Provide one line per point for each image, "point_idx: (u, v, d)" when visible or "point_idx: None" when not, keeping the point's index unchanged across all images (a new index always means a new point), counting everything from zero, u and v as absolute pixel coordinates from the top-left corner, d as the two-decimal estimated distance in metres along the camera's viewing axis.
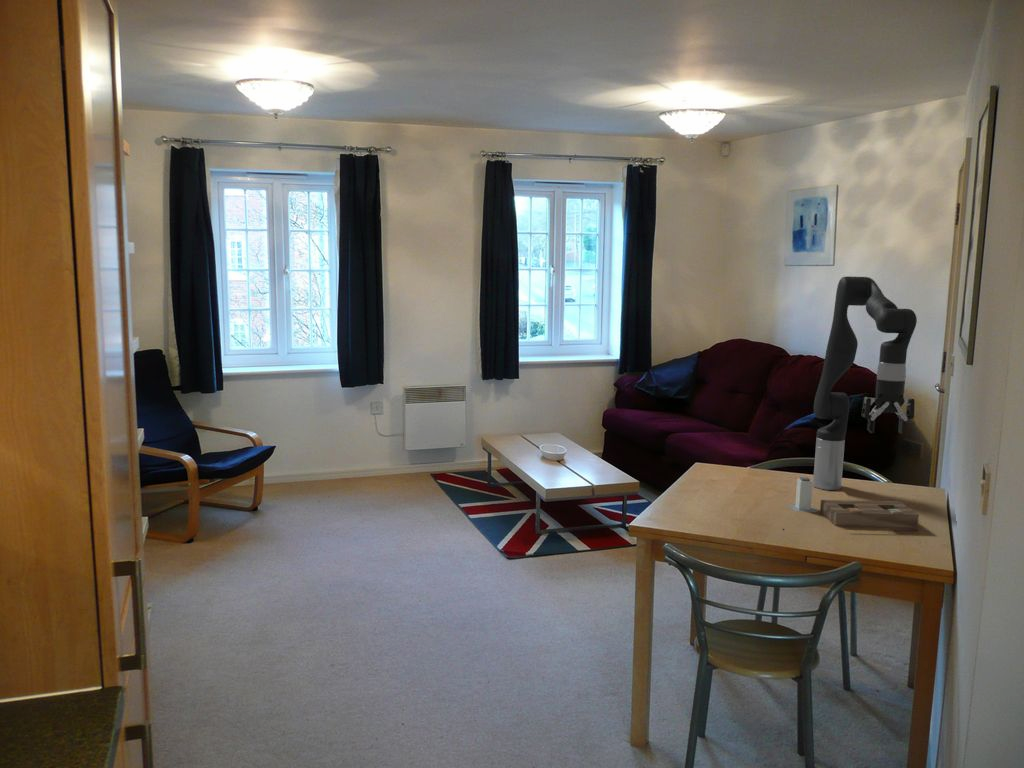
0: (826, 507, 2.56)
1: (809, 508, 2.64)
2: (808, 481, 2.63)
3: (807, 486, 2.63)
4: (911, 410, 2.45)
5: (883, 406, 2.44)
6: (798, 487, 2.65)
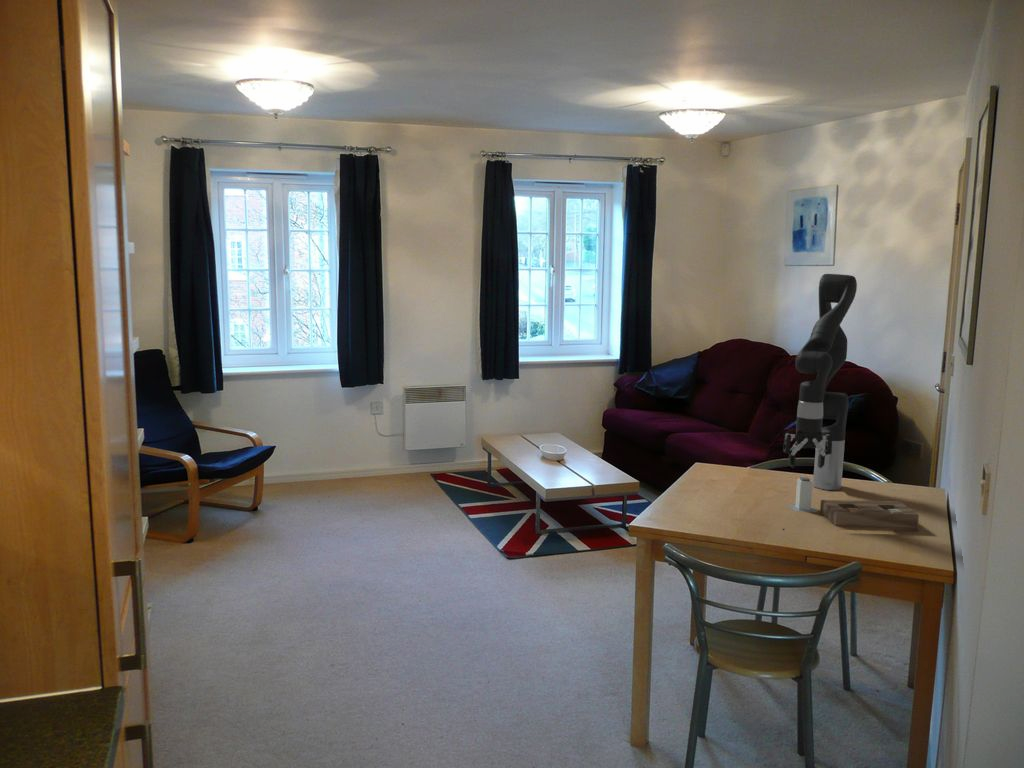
0: (826, 507, 2.56)
1: (809, 508, 2.64)
2: (808, 481, 2.63)
3: (807, 486, 2.63)
4: (829, 446, 2.62)
5: (802, 442, 2.61)
6: (798, 487, 2.65)
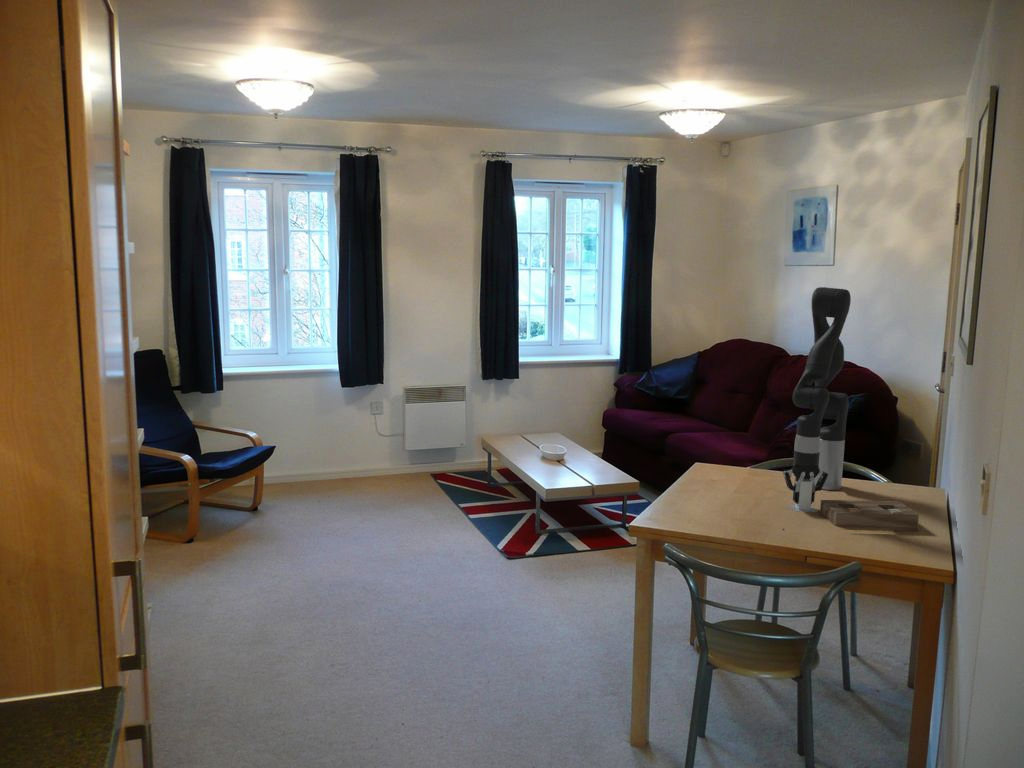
0: (826, 507, 2.56)
1: (809, 508, 2.64)
2: (808, 481, 2.63)
3: (807, 486, 2.63)
4: (821, 482, 2.63)
5: (799, 476, 2.63)
6: None
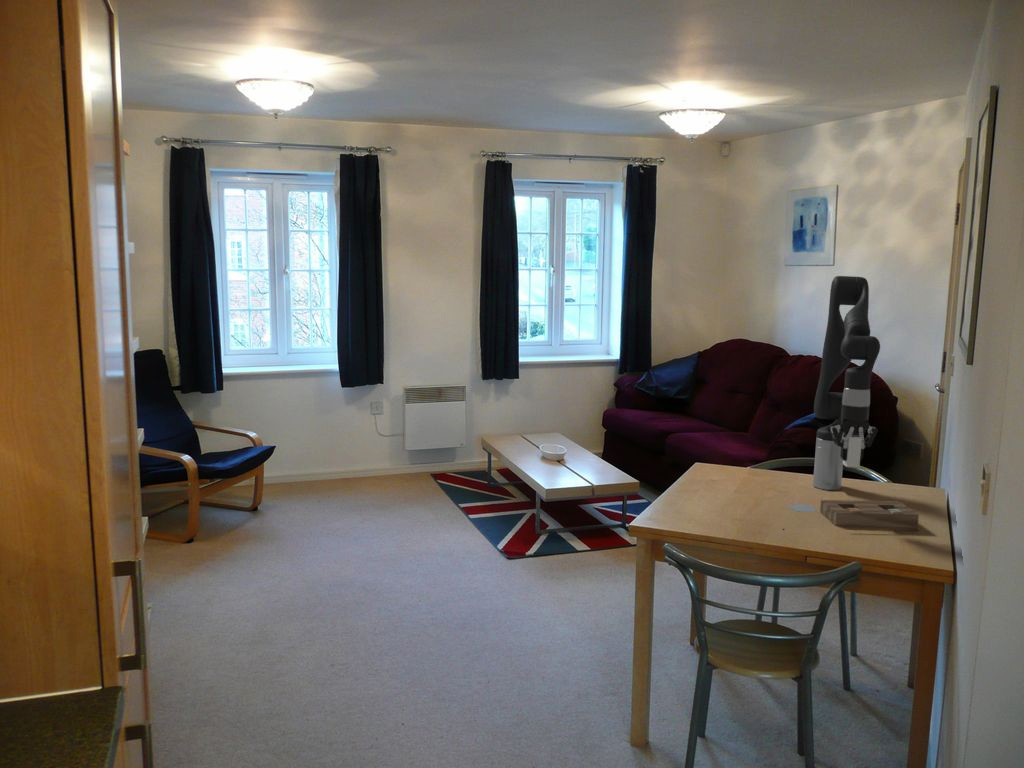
0: (826, 507, 2.56)
1: (858, 465, 2.51)
2: (857, 437, 2.50)
3: (856, 442, 2.50)
4: (871, 438, 2.50)
5: (848, 431, 2.50)
6: None
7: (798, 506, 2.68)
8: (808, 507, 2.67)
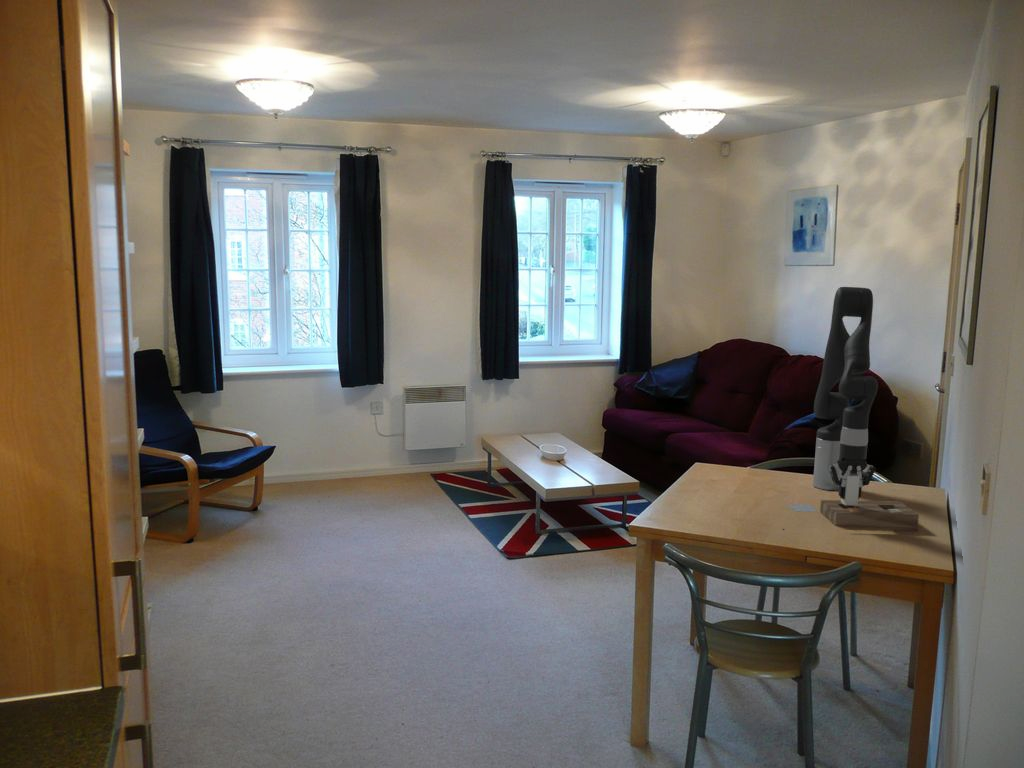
0: (826, 507, 2.56)
1: (856, 504, 2.53)
2: (855, 475, 2.52)
3: (854, 480, 2.52)
4: (868, 477, 2.52)
5: (846, 470, 2.51)
6: None
7: (798, 506, 2.68)
8: (808, 507, 2.67)
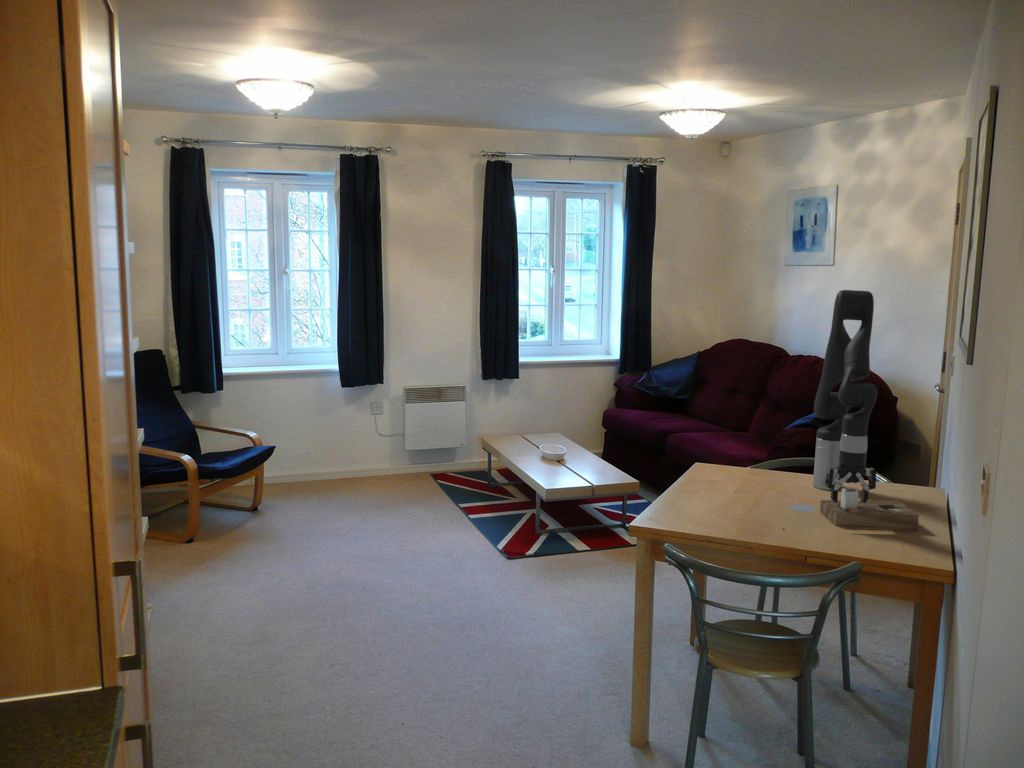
0: (826, 507, 2.56)
1: None
2: (854, 491, 2.53)
3: (853, 496, 2.52)
4: (873, 480, 2.52)
5: (845, 476, 2.52)
6: (843, 497, 2.54)
7: (798, 506, 2.68)
8: (808, 507, 2.67)
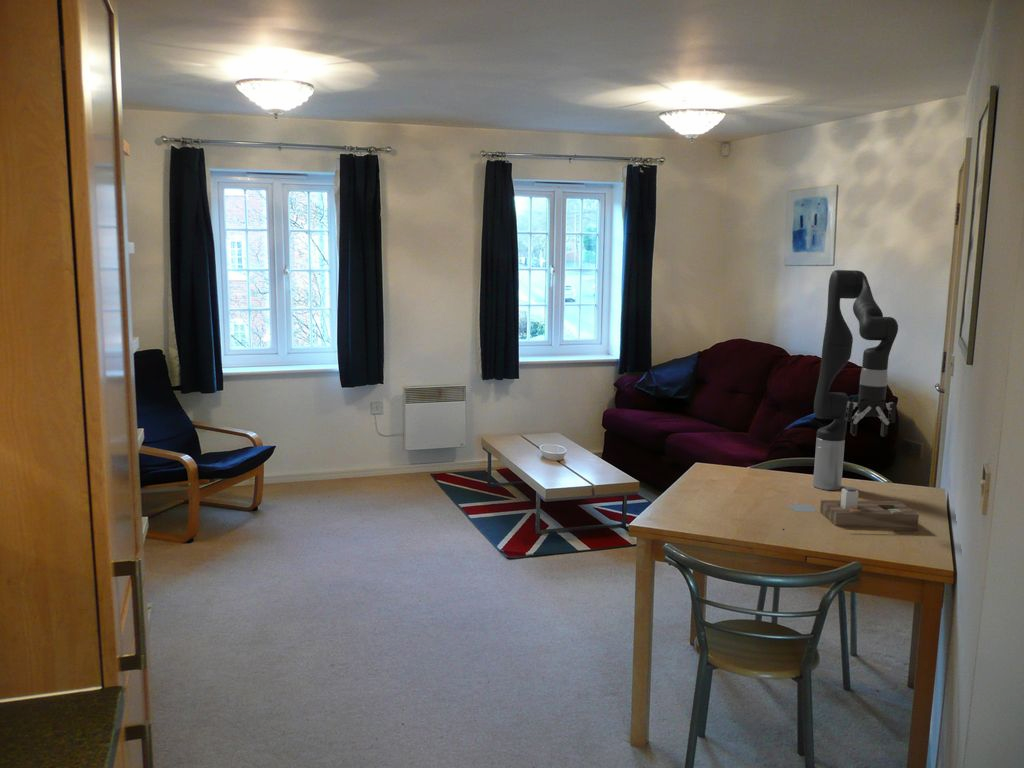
0: (826, 507, 2.56)
1: None
2: (854, 491, 2.53)
3: (853, 496, 2.52)
4: (892, 414, 2.55)
5: (865, 410, 2.54)
6: (843, 497, 2.54)
7: (798, 506, 2.68)
8: (808, 507, 2.67)
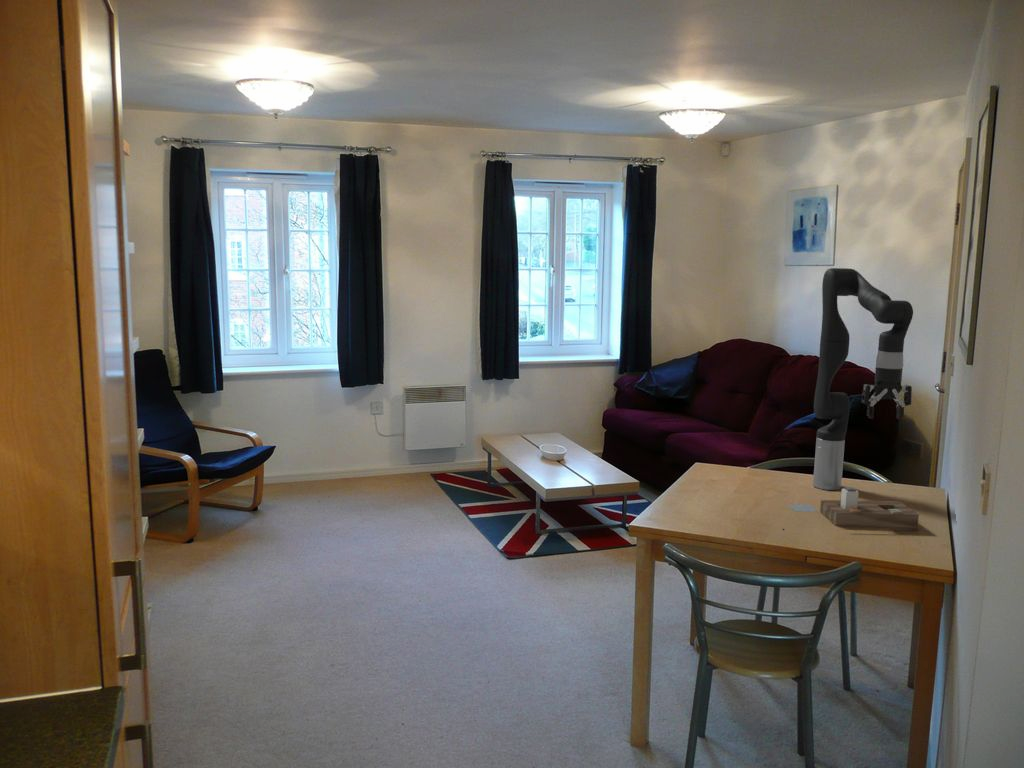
0: (826, 507, 2.56)
1: None
2: (854, 491, 2.53)
3: (853, 496, 2.52)
4: (908, 397, 2.59)
5: (882, 393, 2.58)
6: (843, 497, 2.54)
7: (798, 506, 2.68)
8: (808, 507, 2.67)
